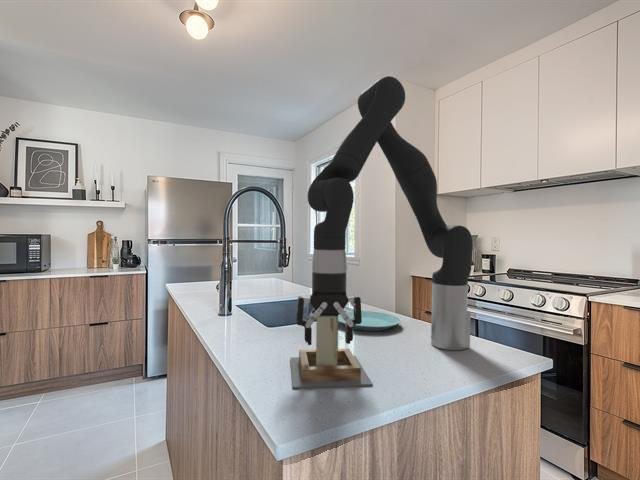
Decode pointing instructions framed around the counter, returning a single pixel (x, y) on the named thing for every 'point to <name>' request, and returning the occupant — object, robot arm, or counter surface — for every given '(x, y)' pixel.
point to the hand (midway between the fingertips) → (328, 343)
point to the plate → (372, 320)
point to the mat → (299, 384)
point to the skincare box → (327, 341)
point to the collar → (329, 367)
